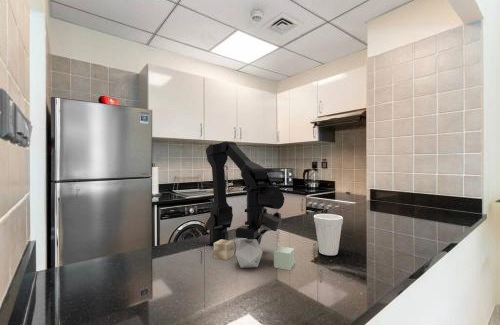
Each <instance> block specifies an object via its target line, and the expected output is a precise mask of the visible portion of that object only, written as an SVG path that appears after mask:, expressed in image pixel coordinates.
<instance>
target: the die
mask: <svg viewBox="0 0 500 325" xmlns="http://www.w3.org/2000/svg"><path fill="white" fill-rule="evenodd" d="M239 239H240V240H239V242H238V246H237V248H236V252H234V255H235V256H236V258H237V262H238V264H239V267H240V268H241V269H242V268H258V266H259V265H260V261H261V259H262V257H263V252H264V251H263V250H262V248H261V244H260V245H259V243H258V241H257V239H246V238H239Z"/></svg>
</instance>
